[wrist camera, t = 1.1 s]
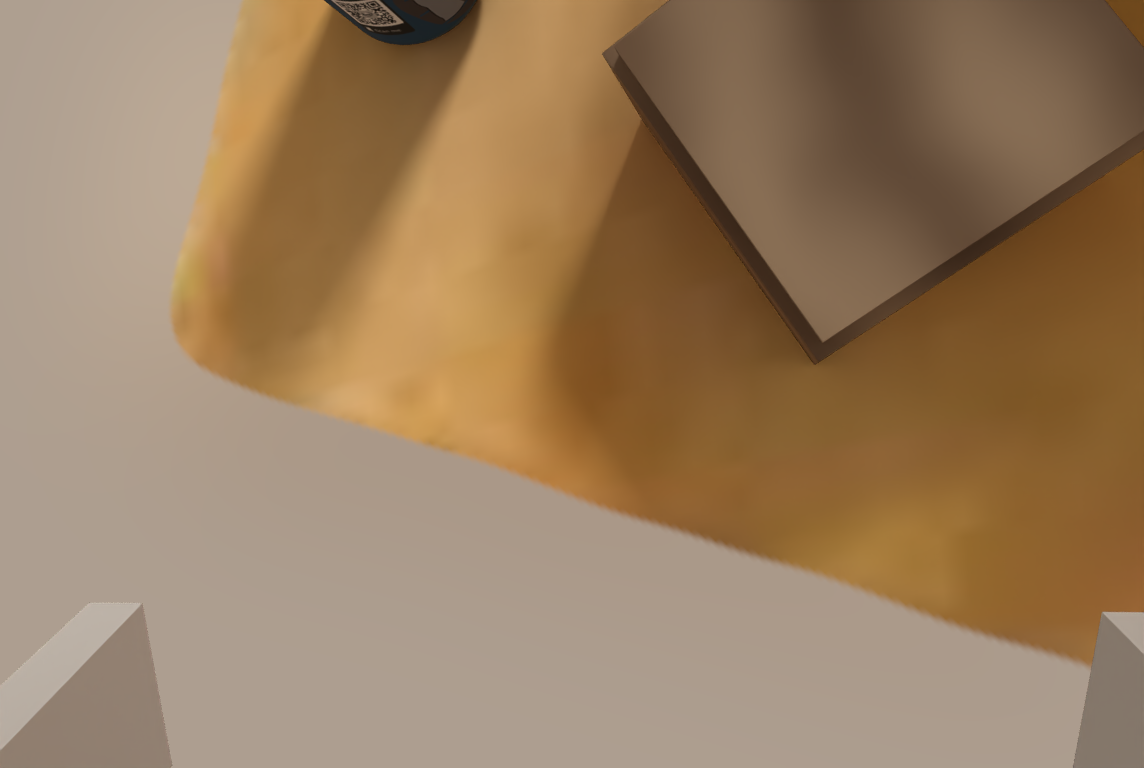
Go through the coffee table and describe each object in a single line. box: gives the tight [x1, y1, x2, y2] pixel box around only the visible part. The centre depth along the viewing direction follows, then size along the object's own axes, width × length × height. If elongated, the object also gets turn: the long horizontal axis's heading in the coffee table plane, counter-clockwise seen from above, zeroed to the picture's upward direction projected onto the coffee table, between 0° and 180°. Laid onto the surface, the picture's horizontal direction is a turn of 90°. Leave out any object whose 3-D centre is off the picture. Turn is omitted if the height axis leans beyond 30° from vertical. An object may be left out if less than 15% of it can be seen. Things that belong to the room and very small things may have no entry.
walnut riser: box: [602, 0, 1144, 365], centre depth 29 cm, size 12×12×8 cm
